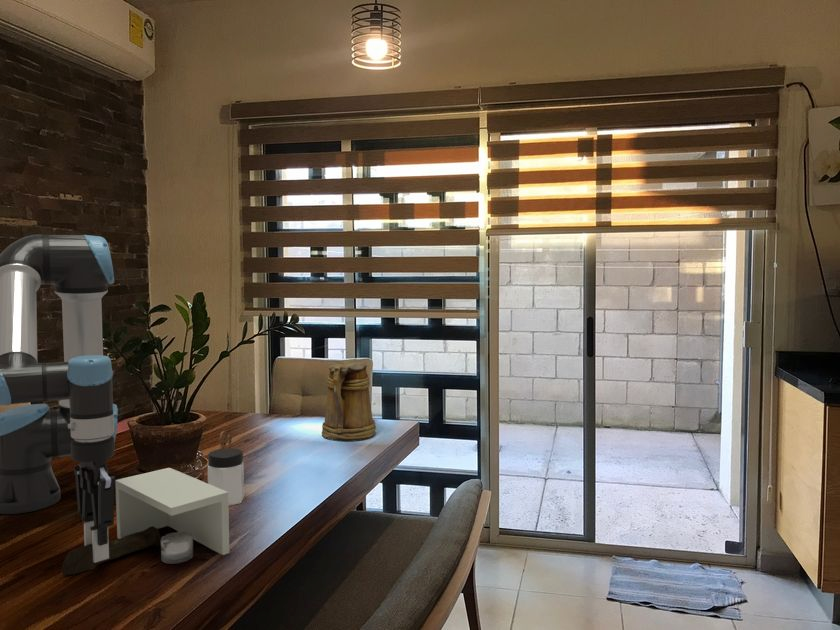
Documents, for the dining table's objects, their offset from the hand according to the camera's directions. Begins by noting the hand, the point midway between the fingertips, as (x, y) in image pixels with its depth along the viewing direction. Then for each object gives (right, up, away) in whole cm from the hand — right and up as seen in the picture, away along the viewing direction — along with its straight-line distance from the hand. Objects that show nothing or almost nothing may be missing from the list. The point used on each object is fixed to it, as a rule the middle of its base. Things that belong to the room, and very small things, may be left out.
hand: (96, 556), depth 132 cm
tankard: (+38, +6, +97) cm, 104 cm away
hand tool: (+2, -2, +2) cm, 4 cm away
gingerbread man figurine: (+8, +3, +56) cm, 57 cm away
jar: (+15, +1, +36) cm, 39 cm away
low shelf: (+11, -1, +9) cm, 15 cm away
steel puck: (+14, -1, +4) cm, 15 cm away
